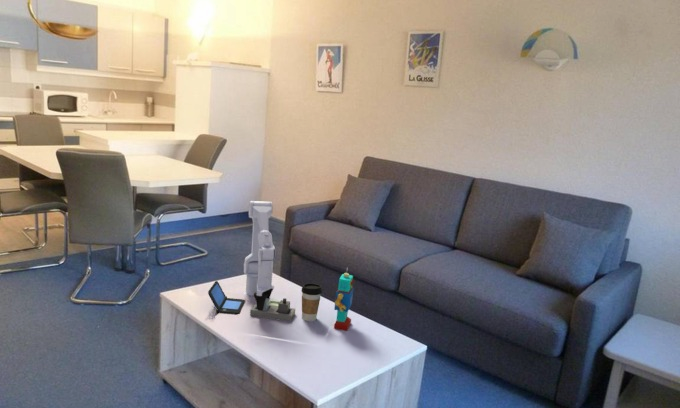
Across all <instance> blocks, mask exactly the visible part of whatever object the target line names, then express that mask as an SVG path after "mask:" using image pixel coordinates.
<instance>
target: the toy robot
mask: <svg viewBox="0 0 680 408" xmlns="http://www.w3.org/2000/svg"><path fill="white" fill-rule="evenodd" d="M348 269H349V268H348V267H346V270H345V272H344V273H342V274H341V276H340V277H339V280H338V287H337V290H336V292H335V298H334V311H336V320H335V323H334V325H333V329H336V330H340V331H341V330H342V331H346V332H347V331H348V330H349V327H350V325H351V322H352V318H351V317H348V314H349V310H350V308H351V307H352V303H353V295H354V287H353V283H354V275H351V274H349V273H348Z"/></svg>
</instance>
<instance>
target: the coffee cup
mask: <svg viewBox="0 0 680 408" xmlns="http://www.w3.org/2000/svg"><path fill="white" fill-rule="evenodd" d="M322 292H323V290H322V285H320V284H318V283H313V282H306V283H303V285H302V286H301V294H302V295H301V319H302V320H303V321H306V322H315V321H316V320H317V317H318V311H319V307H320V301H321V294H322Z"/></svg>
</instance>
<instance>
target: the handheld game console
mask: <svg viewBox="0 0 680 408" xmlns="http://www.w3.org/2000/svg"><path fill="white" fill-rule="evenodd" d="M207 293H208V297H209V298H210V299H211V300H210V301H211V302H212V303H213V306H214V307H215V309H216V314H217V315H218V314H228V315H229V314H231V315H240V314H241V311H242V308H243V307H244V305H245V303H246V299H243V298H242V299H241V298H234V297H233V298H231V297H228V296H227V295H226V294H225V292H224V291H223V288H222V286H221V285H220V283H219V282H218V280H215V281H214V283H213V284H212V285H211V287H210V288H209V290H207Z"/></svg>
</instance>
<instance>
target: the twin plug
mask: <svg viewBox="0 0 680 408" xmlns="http://www.w3.org/2000/svg"><path fill="white" fill-rule="evenodd" d="M290 308H291V301H290V300H289V301H288V300H287V298H285V297H284V298H282V299H281V300H280V301H279V304H278V313H283V314H289V312H290Z"/></svg>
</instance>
